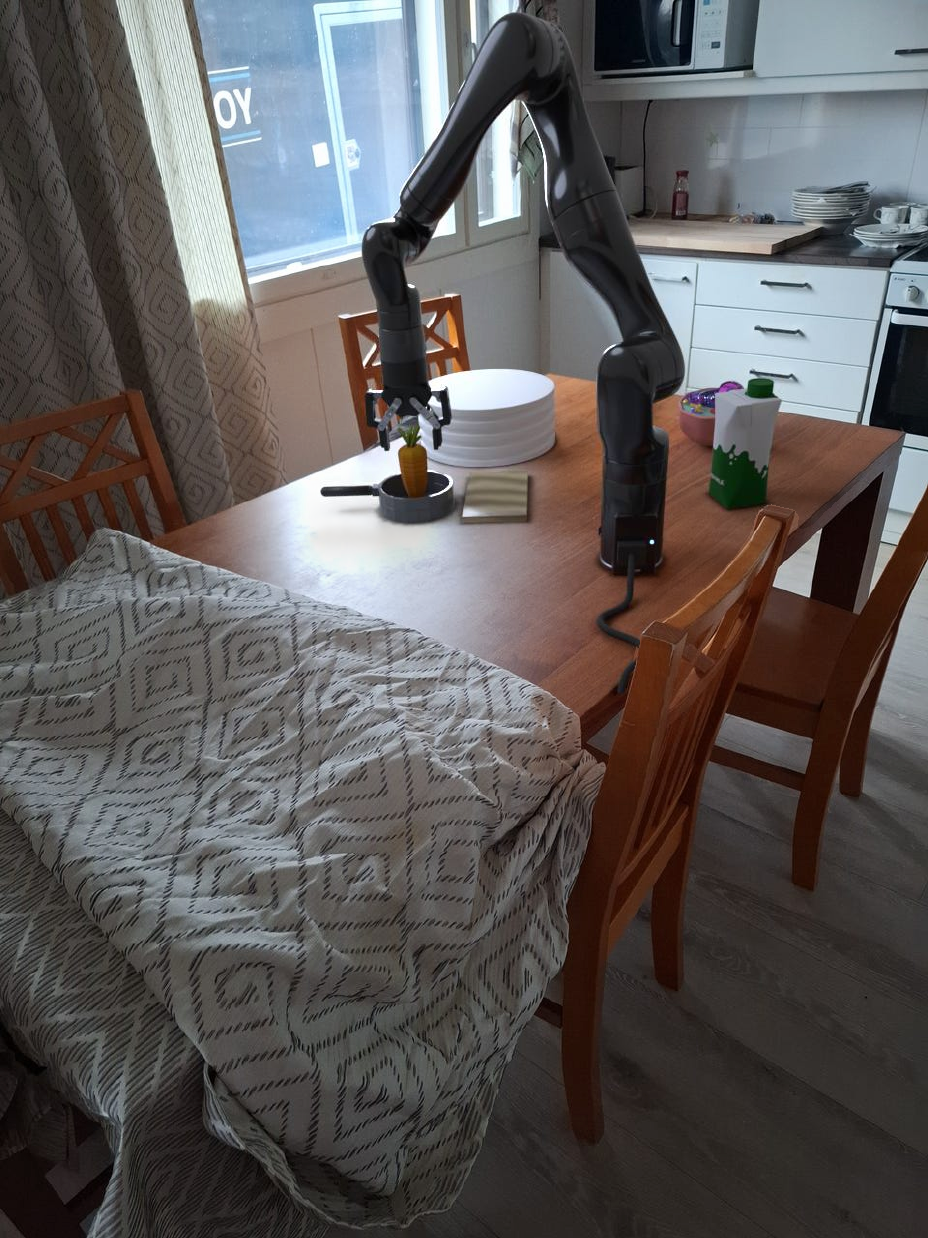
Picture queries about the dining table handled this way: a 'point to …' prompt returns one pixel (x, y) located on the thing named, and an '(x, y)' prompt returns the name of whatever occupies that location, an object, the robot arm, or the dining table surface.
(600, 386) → the robot arm
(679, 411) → the cell model
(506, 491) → the board
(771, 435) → the milk carton
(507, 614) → the dining table surface
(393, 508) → the pan
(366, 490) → the pan handle
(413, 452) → the carrot
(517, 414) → the plate stack
